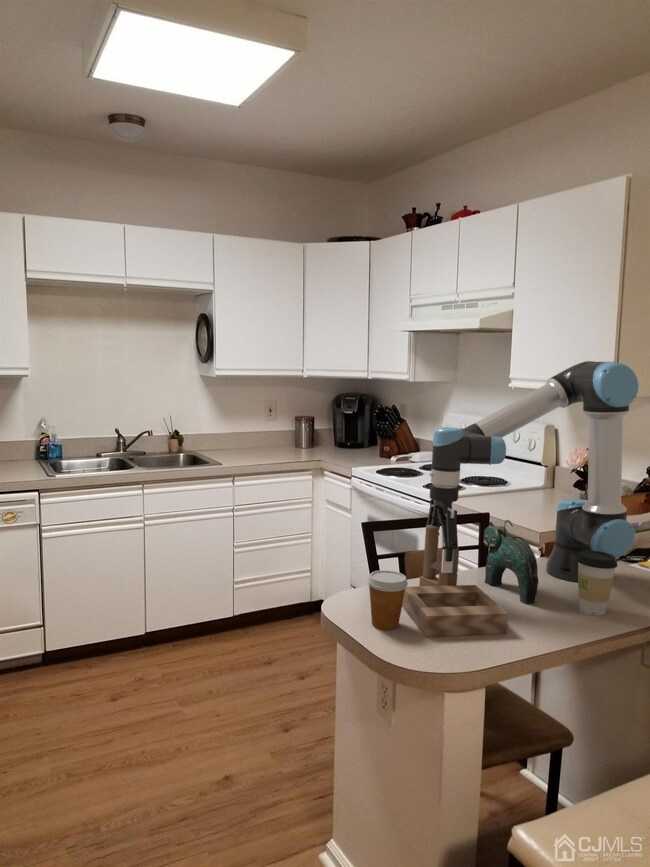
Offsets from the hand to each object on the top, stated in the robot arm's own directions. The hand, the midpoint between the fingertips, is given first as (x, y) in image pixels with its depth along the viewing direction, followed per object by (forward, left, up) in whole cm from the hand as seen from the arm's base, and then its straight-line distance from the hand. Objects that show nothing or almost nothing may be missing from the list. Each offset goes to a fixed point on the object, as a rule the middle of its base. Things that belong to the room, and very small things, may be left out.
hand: (439, 565), depth 179 cm
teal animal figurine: (-21, 0, -8) cm, 23 cm away
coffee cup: (-37, +15, -8) cm, 41 cm away
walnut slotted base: (+2, +17, -8) cm, 19 cm away
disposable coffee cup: (+20, +19, -8) cm, 29 cm away
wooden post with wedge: (0, 0, -8) cm, 8 cm away
